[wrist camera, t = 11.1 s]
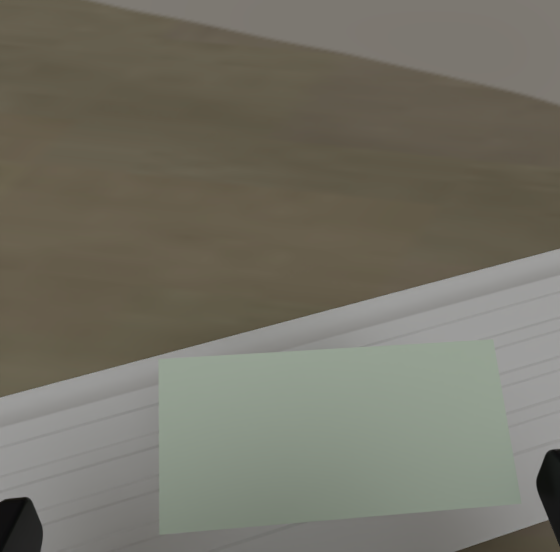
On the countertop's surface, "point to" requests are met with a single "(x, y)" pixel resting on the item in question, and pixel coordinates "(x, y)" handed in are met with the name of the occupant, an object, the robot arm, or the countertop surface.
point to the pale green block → (331, 435)
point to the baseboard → (280, 338)
